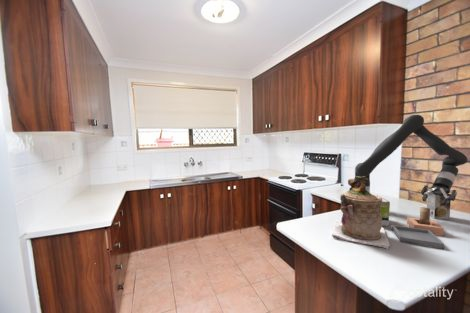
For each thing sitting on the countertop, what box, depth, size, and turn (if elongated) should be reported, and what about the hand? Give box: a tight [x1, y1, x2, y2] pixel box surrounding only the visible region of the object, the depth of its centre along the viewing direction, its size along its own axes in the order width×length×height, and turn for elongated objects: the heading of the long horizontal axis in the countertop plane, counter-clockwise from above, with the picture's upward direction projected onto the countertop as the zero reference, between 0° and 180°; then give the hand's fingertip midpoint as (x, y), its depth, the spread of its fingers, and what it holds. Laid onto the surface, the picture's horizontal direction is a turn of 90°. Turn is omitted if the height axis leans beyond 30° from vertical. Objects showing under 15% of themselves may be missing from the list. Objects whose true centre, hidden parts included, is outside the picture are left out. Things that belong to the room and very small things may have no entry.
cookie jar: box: [331, 176, 390, 250], centre depth 108 cm, size 25×25×32 cm
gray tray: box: [391, 224, 445, 250], centre depth 104 cm, size 16×16×2 cm
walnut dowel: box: [419, 206, 431, 225], centre depth 114 cm, size 4×4×12 cm
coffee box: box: [426, 192, 452, 220], centre depth 131 cm, size 9×6×16 cm
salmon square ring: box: [406, 216, 445, 237], centre depth 114 cm, size 12×12×4 cm
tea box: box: [376, 195, 391, 227], centre depth 126 cm, size 15×10×15 cm
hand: (433, 202), depth 117 cm, fingers open, 8 cm apart
